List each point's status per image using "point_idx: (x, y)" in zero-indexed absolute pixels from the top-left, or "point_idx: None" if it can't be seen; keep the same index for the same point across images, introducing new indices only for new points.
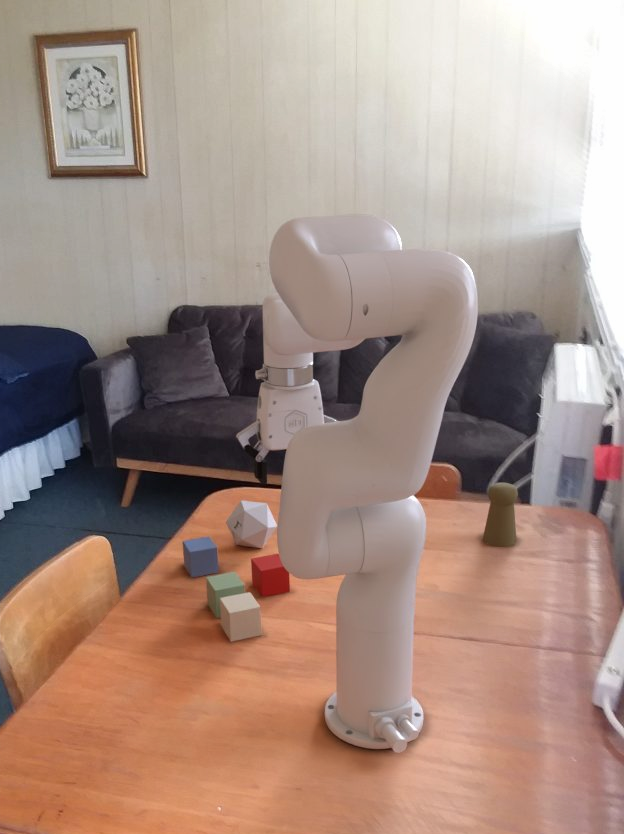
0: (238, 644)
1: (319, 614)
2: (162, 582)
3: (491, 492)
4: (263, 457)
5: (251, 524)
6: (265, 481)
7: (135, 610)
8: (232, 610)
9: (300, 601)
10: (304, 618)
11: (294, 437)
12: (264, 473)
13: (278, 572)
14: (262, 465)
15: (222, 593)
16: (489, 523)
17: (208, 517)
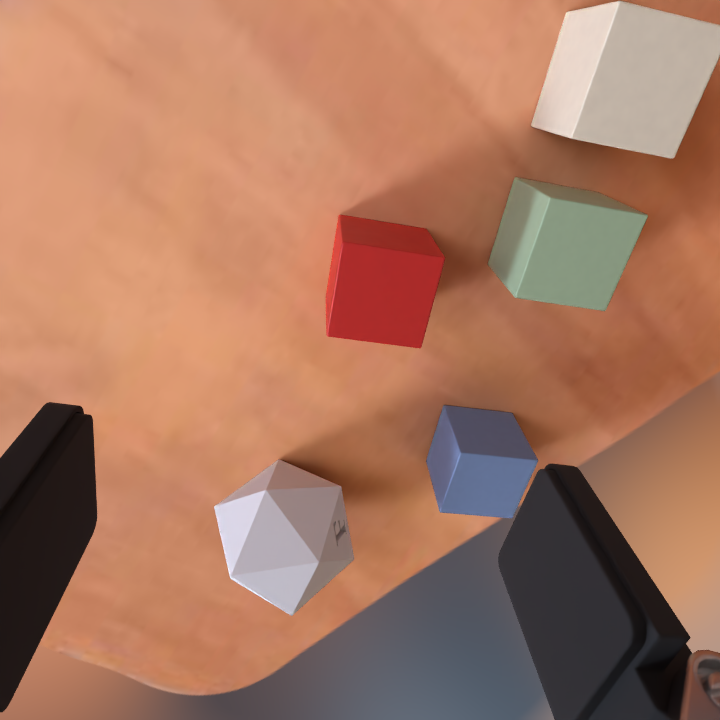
0: (654, 5)
1: (332, 23)
2: (578, 424)
3: None
4: (696, 691)
5: (308, 515)
6: (566, 477)
7: (713, 339)
8: (710, 41)
9: (340, 143)
10: (389, 29)
11: None
12: (609, 529)
13: (380, 242)
14: (661, 603)
15: (617, 206)
16: None
17: (316, 621)
